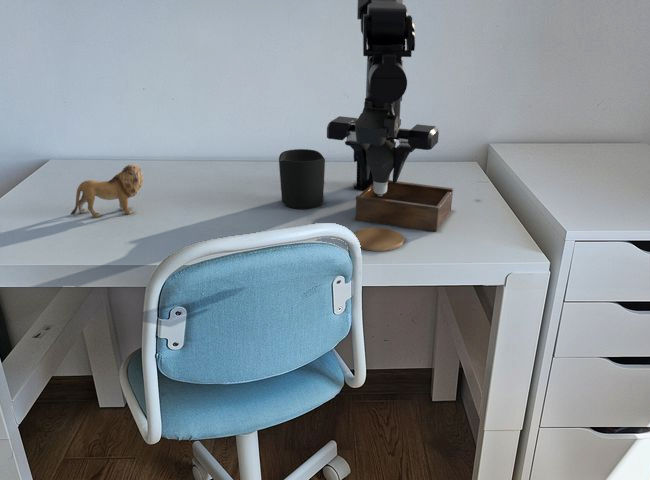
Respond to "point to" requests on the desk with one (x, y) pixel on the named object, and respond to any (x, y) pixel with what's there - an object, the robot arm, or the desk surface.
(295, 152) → the pen holder
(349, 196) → the desk surface
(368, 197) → the wooden cubby shelf
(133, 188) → the lion figurine
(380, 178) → the light bulb
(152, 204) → the desk surface
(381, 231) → the coaster
